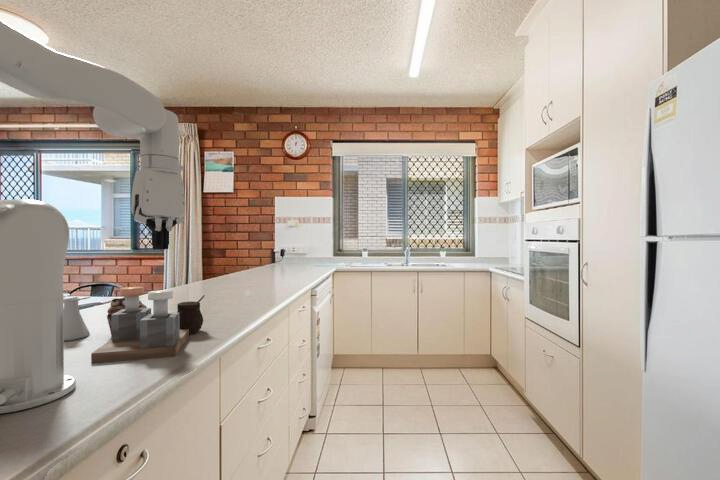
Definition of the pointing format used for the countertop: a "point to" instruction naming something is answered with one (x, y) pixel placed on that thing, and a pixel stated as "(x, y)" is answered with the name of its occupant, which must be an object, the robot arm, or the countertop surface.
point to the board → (141, 337)
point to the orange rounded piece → (131, 298)
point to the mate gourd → (190, 316)
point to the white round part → (160, 302)
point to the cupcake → (118, 308)
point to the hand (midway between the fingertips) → (160, 249)
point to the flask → (73, 320)
